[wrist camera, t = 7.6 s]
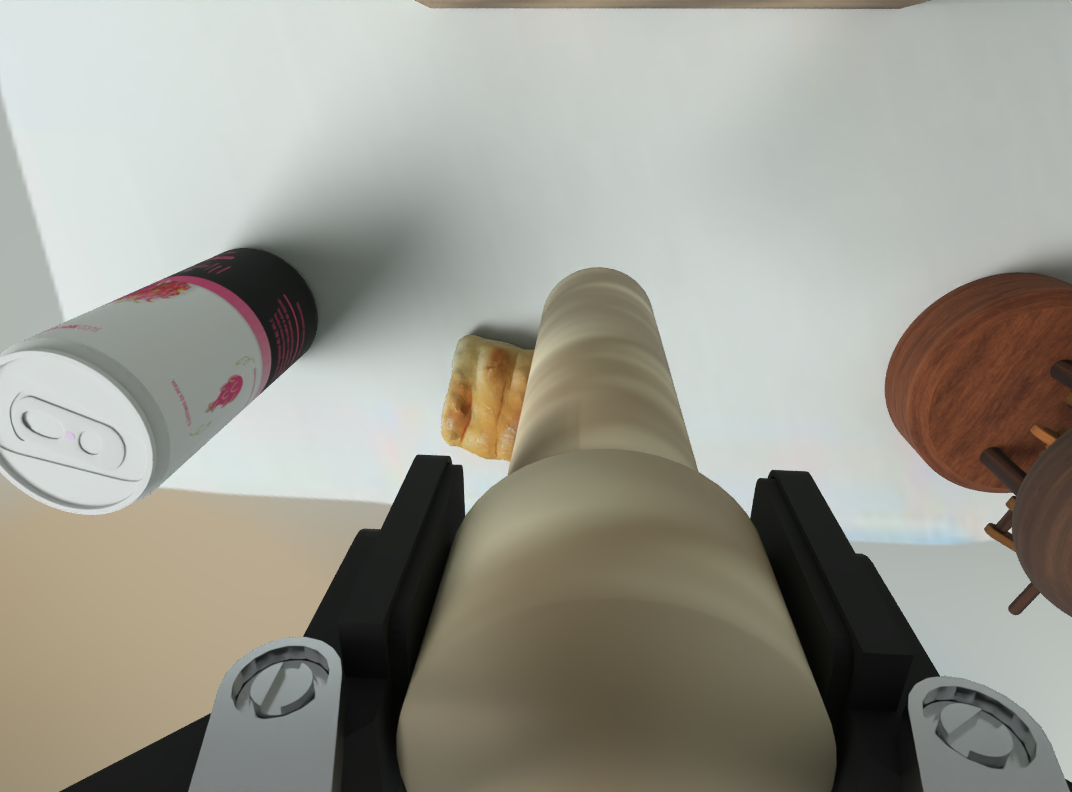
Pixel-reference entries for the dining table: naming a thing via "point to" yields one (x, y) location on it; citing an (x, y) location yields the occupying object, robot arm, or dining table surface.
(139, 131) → the dining table surface
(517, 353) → the pastry
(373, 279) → the dining table surface
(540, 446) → the pin
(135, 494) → the beverage can
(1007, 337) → the music box
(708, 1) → the wooden box
